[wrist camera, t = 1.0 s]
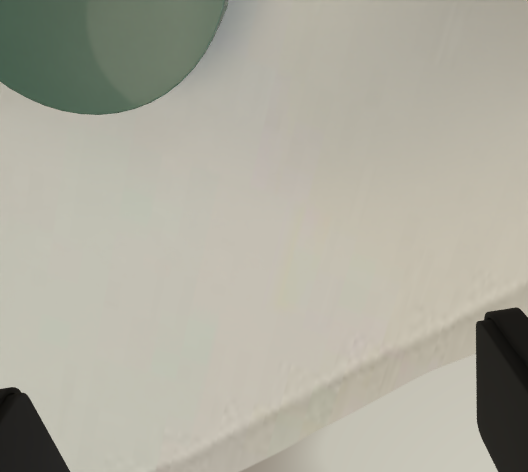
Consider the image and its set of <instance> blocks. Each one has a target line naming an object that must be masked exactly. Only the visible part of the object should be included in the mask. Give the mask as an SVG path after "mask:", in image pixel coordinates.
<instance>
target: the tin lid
mask: <svg viewBox="0 0 528 472" xmlns="http://www.w3.org/2000/svg"><path fill="white" fill-rule="evenodd" d="M225 1H226V0H0V82H2V83H3V84H4V85H6V86H7V87H9V88H10V89H12V90H14V91H16V92H17V93H19V94H21V95H23V96H24V97H26V98H28V99H31V100H33V101H35V102H38V103H40V104H42V105H45V106H48V107H51V108H55V109H58V110H62V111H66V112H72V113H78V114H94V115H102V114H112V113H119V112H124V111H128V110H132V109H135V108H138V107H141V106H143V105H146V104H148V103H151V102H152V101H154V100H156V99H158V98H159V97H161V96H163V95H165V94H166V93H168V92H169V91H170V90H171V89H173V88H174V87H175V86H177V85H178V84H179V83H180V82H181V81H182V80H183V79H184V78H185V77H186V76H187V75H188V74H189V73H190V72H191V71H192V70H193V69H194V68H195V66H196V65H197V64H198V62H199V61H200V59H201V58H202V57H203V55H204V54H205V52H206V50H207V49H208V47H209V45H210V43H211V41H212V39H213V37H214V35H215V33H216V30H217V27H218V25H219V22H220V20H221V17H222V13H223V9H224V5H225Z"/></svg>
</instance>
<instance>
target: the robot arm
mask: <svg viewBox="0 0 528 472" xmlns="http://www.w3.org/2000/svg"><path fill="white" fill-rule="evenodd" d="M476 370H477V371H476V374H477V375H476V376H477V377H476V378H477V424H478V428H479V432H480V435H481V437H482V440H483V442H484V444H485V446H486V448H487V450H488V452H489V454H490V456H491V458H492V460H493V462H494V464H495V466H496V468H497V470H498V472H528V317H527V316H526V315H525V314H524V313H523V311H521V310H520V309H519V308H510V309H504V310H497V311H491V312H487V313H486V314H485V318H484V320H483V321H478V322H477V324H476ZM0 472H70V471H69V469H68V467H67V465H66V463H65V462H64V460H63V458H62V456H61V454H60V453H59V451H58V449H57V447H56V445H55V444H54V442H53V440H52V438H51V436H50V434H49V433H48V431H47V429H46V427H45V425H44V424H43V422H42V420H41V418H40V416H39V415H38V413H37V411H36V409H35V407H34V406H33V404H32V402H31V400H30V398H29V397H28V396H27V394H25V393H21V391H20V390H19V389H17V388H15V387H11V388H5V389H0Z"/></svg>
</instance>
